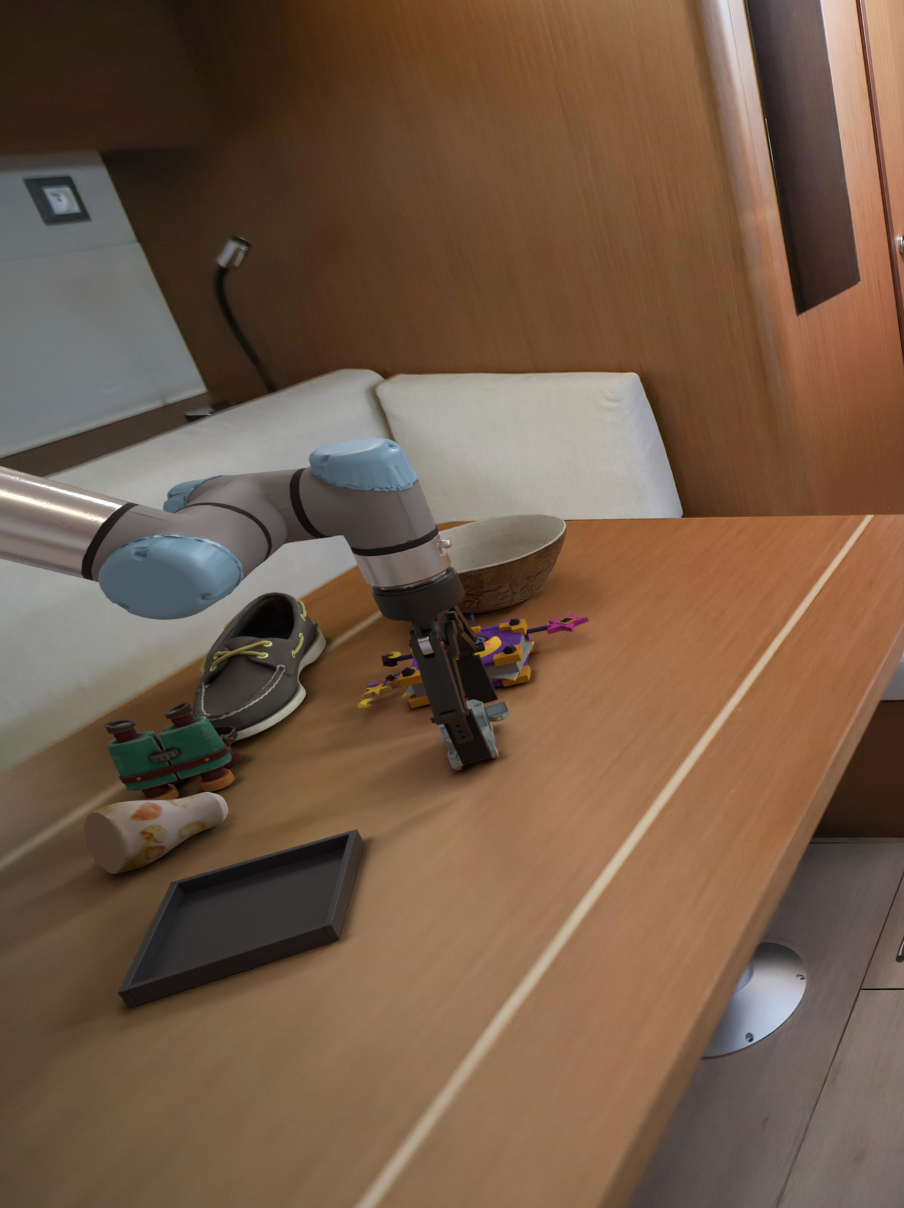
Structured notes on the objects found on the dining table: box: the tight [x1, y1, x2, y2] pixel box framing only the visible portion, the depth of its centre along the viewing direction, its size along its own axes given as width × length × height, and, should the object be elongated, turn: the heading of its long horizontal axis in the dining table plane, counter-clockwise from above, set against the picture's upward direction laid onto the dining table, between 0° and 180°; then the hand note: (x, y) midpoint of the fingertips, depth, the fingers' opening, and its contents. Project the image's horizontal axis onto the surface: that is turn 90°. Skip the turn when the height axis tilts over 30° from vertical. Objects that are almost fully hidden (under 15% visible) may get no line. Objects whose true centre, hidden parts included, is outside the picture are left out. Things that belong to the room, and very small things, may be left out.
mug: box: [83, 791, 229, 875], centre depth 100 cm, size 8×10×10 cm
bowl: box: [438, 513, 568, 615], centre depth 148 cm, size 24×24×10 cm
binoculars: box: [103, 701, 243, 801], centre depth 108 cm, size 9×11×10 cm
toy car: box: [438, 699, 511, 771], centre depth 116 cm, size 6×10×5 cm, turn 40°
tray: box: [117, 828, 365, 1009], centre depth 92 cm, size 14×15×2 cm
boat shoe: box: [191, 591, 327, 742], centre depth 124 cm, size 11×29×9 cm, turn 38°
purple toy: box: [357, 612, 590, 709], centre depth 128 cm, size 15×25×12 cm, turn 121°
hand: (481, 729), depth 116 cm, fingers open, 13 cm apart
